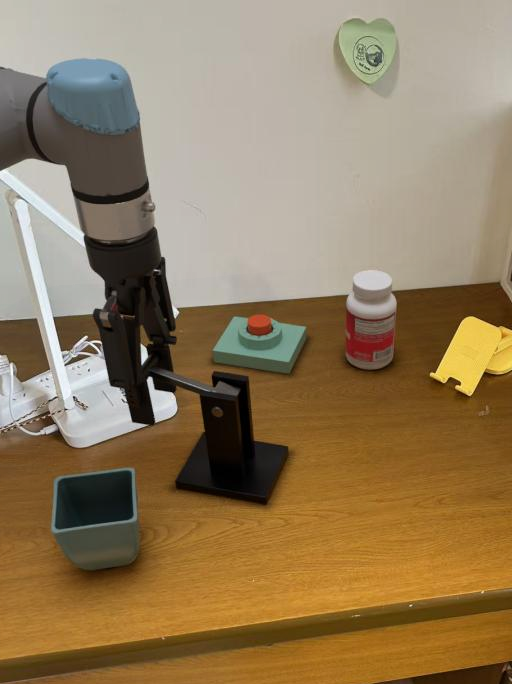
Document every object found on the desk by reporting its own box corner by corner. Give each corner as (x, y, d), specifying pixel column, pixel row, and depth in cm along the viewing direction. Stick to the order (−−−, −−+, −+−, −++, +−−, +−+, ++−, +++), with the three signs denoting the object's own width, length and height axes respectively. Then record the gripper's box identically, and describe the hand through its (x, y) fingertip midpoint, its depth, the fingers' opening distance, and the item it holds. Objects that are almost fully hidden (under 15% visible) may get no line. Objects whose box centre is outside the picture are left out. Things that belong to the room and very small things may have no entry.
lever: (129, 389, 91) (130, 374, 89) (150, 361, 95) (151, 345, 93) (227, 423, 91) (229, 409, 89) (243, 393, 95) (246, 379, 94)
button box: (213, 362, 118) (211, 340, 115) (235, 327, 125) (233, 306, 122) (289, 374, 116) (288, 351, 114) (306, 338, 123) (306, 316, 121)
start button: (244, 335, 117) (244, 325, 116) (252, 322, 120) (251, 312, 118) (267, 338, 117) (267, 328, 115) (274, 325, 119) (274, 316, 118)
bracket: (176, 488, 98) (159, 402, 88) (204, 438, 105) (191, 354, 95) (266, 504, 96) (259, 419, 87) (288, 453, 103) (285, 368, 94)
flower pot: (147, 519, 94) (134, 465, 88) (150, 574, 88) (137, 520, 81) (72, 530, 92) (53, 476, 86) (70, 587, 86) (50, 533, 80)
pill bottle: (353, 340, 123) (355, 263, 114) (398, 349, 122) (404, 271, 113) (338, 366, 118) (339, 287, 109) (385, 375, 117) (390, 296, 107)
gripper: (112, 278, 72) (152, 460, 88) (187, 196, 86) (210, 366, 102) (39, 268, 73) (91, 449, 89) (125, 188, 87) (157, 358, 103)
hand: (154, 405), depth 96 cm, fingers closed on lever, 6 cm apart
